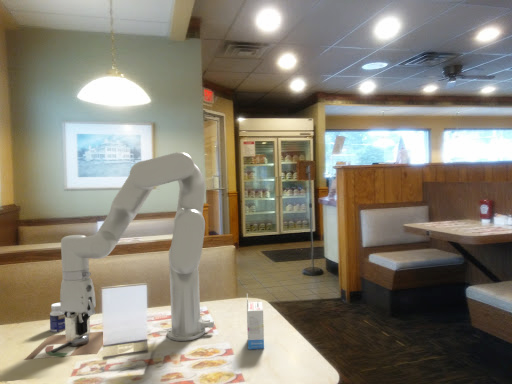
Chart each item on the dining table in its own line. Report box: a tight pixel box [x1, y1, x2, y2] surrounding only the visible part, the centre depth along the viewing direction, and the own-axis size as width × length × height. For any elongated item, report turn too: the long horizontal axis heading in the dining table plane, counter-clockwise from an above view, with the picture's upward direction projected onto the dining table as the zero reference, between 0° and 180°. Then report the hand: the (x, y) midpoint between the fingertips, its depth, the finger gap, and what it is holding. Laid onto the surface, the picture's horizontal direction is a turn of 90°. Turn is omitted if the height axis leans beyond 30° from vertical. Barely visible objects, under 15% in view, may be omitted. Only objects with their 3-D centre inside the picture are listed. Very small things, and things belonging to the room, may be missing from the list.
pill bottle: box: [49, 301, 66, 333], centre depth 128 cm, size 6×6×10 cm
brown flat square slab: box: [23, 331, 104, 361], centre depth 115 cm, size 20×18×1 cm
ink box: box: [246, 293, 265, 350], centre depth 114 cm, size 8×5×15 cm, turn 2°
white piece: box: [51, 311, 91, 353], centre depth 112 cm, size 12×6×9 cm, turn 157°
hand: (78, 332), depth 115 cm, fingers closed on white piece, 2 cm apart
